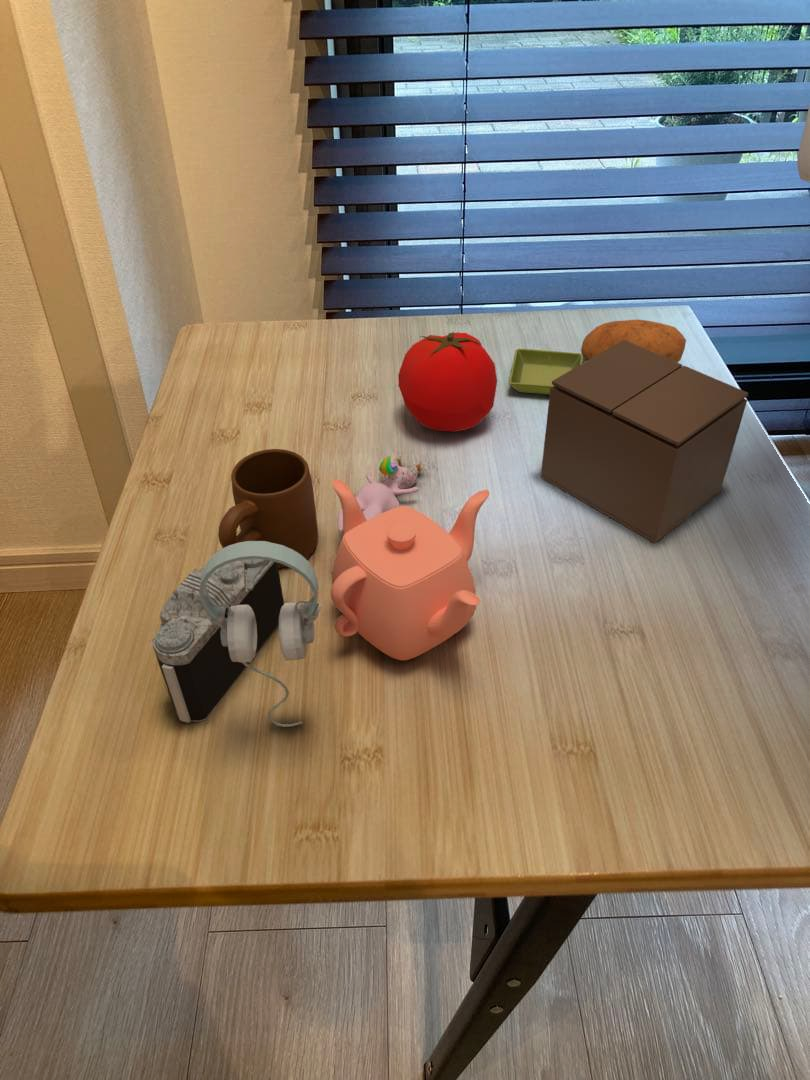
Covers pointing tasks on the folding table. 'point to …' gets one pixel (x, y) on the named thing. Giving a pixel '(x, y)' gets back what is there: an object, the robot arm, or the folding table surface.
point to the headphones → (241, 618)
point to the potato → (635, 338)
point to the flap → (680, 405)
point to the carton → (630, 445)
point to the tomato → (448, 381)
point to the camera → (212, 633)
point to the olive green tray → (540, 369)
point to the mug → (272, 502)
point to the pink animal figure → (384, 489)
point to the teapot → (403, 576)
